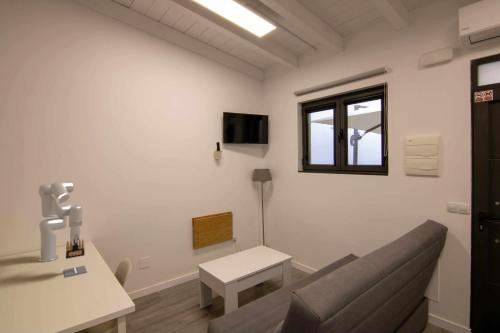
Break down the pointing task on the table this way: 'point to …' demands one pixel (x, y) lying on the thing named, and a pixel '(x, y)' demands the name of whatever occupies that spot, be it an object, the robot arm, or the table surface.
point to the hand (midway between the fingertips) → (75, 250)
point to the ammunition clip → (71, 253)
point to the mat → (75, 271)
